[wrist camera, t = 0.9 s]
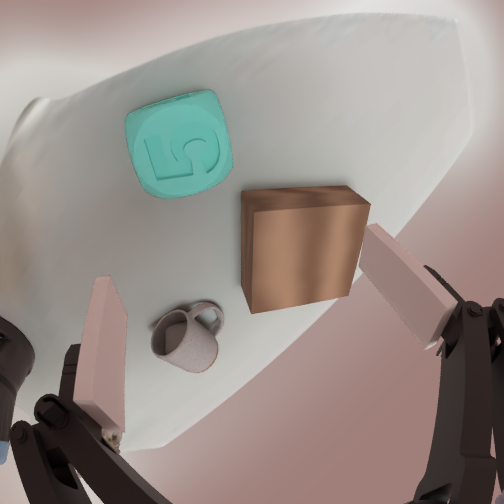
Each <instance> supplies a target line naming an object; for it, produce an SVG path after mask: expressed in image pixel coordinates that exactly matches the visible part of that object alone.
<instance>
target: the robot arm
mask: <svg viewBox="0 0 504 504" xmlns="http://www.w3.org/2000/svg"><path fill="white" fill-rule="evenodd" d="M359 268H360V269H361V270H362V271H363V272H364V273H365V275H366V276H367V277H368V278H369V279H370V281H371V282H372V283H373V284H374V286H375V287H376V288H377V289H378V290H379V292H380V293H381V294H382V295H383V297H384V298H385V299H386V300H387V301H388V303H389V304H390V305H391V307H392V308H393V309H394V310H395V312H396V313H397V314H398V315H399V317H400V318H401V319H402V321H403V322H404V323H405V325H406V326H407V327H408V328H409V330H410V331H411V332H412V334H413V335H414V336H415V338H416V339H417V340H418V342H419V343H420V344H421V346H422V347H423V348H424V350H426V349H428V348H430V347H432V346H434V345H436V343H437V342H438V340H439V338H440V336H442V338H443V339H444V341H443V343H442V345H441V346H440V348H439V350H438V351H437V354H436V356H438V355H439V354H440V352H441V351H442V355H441V357H442V359H441V376H440V388H439V398H438V407H437V415H436V422H435V428H434V434H433V440H432V446H431V450H430V455H429V460H428V464H427V469H426V472H425V475H424V477H423V478H422V480H421V481H420V483H419V485H418V487H417V489H416V492H415V495H414V499H413V501H410V502H407V503H405V504H447V501H448V500H449V498H450V501H449V504H491V501H492V496H493V491H494V485H495V479H496V472H497V473H498V480H499V484H500V489H501V492H502V494H501V495H499V496H498V497H497V498H496V501H495V504H504V299H503V298H497V299H496V300H495V301H494V302H493V304H492V306H491V307H482V306H481V305H479V304H478V303H476V302H473V301H467V302H465V301H464V300H463V299H462V298H461V297H460V295H459V294H458V293H457V292H456V291H455V290H454V289H453V288H452V287H451V286H450V285H449V284H448V283H446V281H445V280H444V279H443V278H441V276H440V275H439V274H438V273H437V272H436V271H435V270H433V269H432V268H430V267H428V266H426V265H425V266H422V265H421V264H420V263H419V262H418V261H417V260H416V259H415V258H414V257H413V256H412V255H411V254H410V253H409V252H408V251H407V250H406V249H405V248H404V247H402V246H401V245H400V244H399V243H398V242H397V241H396V240H395V239H394V238H393V237H392V236H390V235H389V234H388V233H387V232H386V231H385V230H384V229H383V228H382V227H380V226H379V225H378V224H377V223H376V224H370V225H365V232H364V239H363V245H362V251H361V257H360V262H359ZM127 320H128V315H127V313H126V311H125V309H124V307H123V304H122V302H121V300H120V298H119V296H118V293H117V291H116V289H115V286H114V284H113V282H112V279H111V277H110V275H108V276H103V277H98V278H96V279H95V283H94V287H93V291H92V295H91V299H90V303H89V307H88V312H87V316H86V321H85V326H84V331H83V336H82V342H81V344H74V345H71V346H70V348H69V349H68V351H67V353H66V355H65V360H64V367H63V370H62V376H61V382H60V389H59V396H57V395H54V394H46V395H44V396H42V397H41V398H40V399H39V400H38V401H37V402H36V405H35V407H34V416H35V419H36V420H37V421H38V422H39V423H37V424H35V425H32V426H31V425H30V424H29V423H27V422H26V421H22V420H21V421H17V422H16V423H15V424H13V426H12V428H11V425H12V417H13V412H14V406H15V400H16V396H17V392H18V390H19V388H20V387H21V385H22V383H23V382H24V380H25V377H26V376H28V375H29V374H30V372H31V370H32V367H33V363H34V359H35V355H34V351H33V348H32V346H31V344H30V343H29V341H28V340H27V339H26V337H25V336H24V335H23V334H22V333H21V332H20V331H19V330H18V329H17V328H15V327H14V326H13V325H12V324H10V323H9V322H7V321H6V320H4V319H2V318H0V465H2V464H4V463H5V462H6V459H7V453H8V449H9V445H10V443H11V447H12V451H13V455H14V459H15V462H16V465H17V468H18V472H19V475H20V478H21V481H22V484H23V487H24V490H25V492H26V495H27V498H28V500H29V503H30V504H92V502H91V501H90V499H89V497H88V495H87V493H86V491H85V490H84V487H83V485H82V483H81V482H80V479H79V477H78V475H77V473H76V471H75V469H76V470H77V472H78V473H79V474H80V475H81V477H82V478H83V479H84V481H85V482H86V483H87V484H88V485H89V487H90V488H91V489H92V490H93V491H94V493H95V494H96V495H97V496H98V497H99V498H100V499H101V501H102V502H103V503H104V504H172V503H171V502H170V501H169V500H167V499H166V498H165V497H164V496H163V495H161V494H160V493H159V492H158V491H157V490H156V489H155V488H153V487H152V486H151V485H150V484H149V483H148V482H147V481H146V480H145V479H143V478H142V477H141V476H140V475H139V474H138V473H137V472H136V471H135V470H134V469H133V468H132V467H131V466H130V465H129V464H128V463H127V462H126V461H125V460H124V459H123V458H122V457H121V456H120V455H119V454H118V452H117V451H116V450H115V449H114V448H113V447H112V446H111V445H110V444H109V443H108V442H107V440H106V439H105V438H104V437H103V436H102V428H103V429H104V430H105V431H106V432H108V433H118V432H125V410H124V383H125V351H126V334H127ZM499 337H500V340H501V343H500V344H499V345H498V343H497V340H498V338H499ZM492 428H493V435H494V443H495V452H496V459H495V458H494V457H492V456H491V454H490V448H491V435H492ZM9 441H10V443H9ZM74 468H75V469H74Z"/></svg>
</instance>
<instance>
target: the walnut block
mask: <svg viewBox="0 0 504 504" xmlns="http://www.w3.org/2000/svg"><path fill="white" fill-rule="evenodd" d="M370 205H371V204H370V203H369V202H368V201H366V200H365V199H364V198H363V197H361V196H360V195H359V194H357V193H356V192H355V191H353V190H352V189H351V188H349V187H348V186H324V187H301V188H283V189H267V190H253V191H242V195H241V287H242V289H243V292H244V295H245V298H246V301H247V303H248V306H249V309H250V312H251V314H255V313H261V312H267V311H272V310H278V309H284V308H289V307H294V306H300V305H305V304H310V303H315V302H320V301H325V300H330V299H335V298H339V297H344V296H348V295H349V291H350V288H351V284H352V281H353V277H354V273H355V269H356V266H357V262H358V258H359V254H360V250H361V246H362V242H363V237H364V232H365V225H366V224H367V220H368V215H369V210H370Z"/></svg>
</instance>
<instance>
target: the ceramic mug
mask: <svg viewBox="0 0 504 504" xmlns="http://www.w3.org/2000/svg"><path fill="white" fill-rule="evenodd" d="M208 309H213V310H214V311H215V313H216V316H218V320H217V323H216V325H215V326H214V327H213V329H212V330H211V331H208V330H207V329H206V328H205V327H203V326H202V325H201V324H200V323H199V322H198V321H196V320H195V319H194V318H195V317H196V316H197V315H198V314H200V313H201V312H203V311H205V310H208ZM223 325H224V315H223V313H222V311H221V310H220V309H219V308H218V307H217V306H216V305H214V304H212V303H202V304H199V305H197V306H196V307H195V308H193V309H192V310H191V311H190V312H188V313H187V312H185V311H183V310H173V311H171V312H169V313H167V314H166V315H165V316H163V317H162V318H161V320H160V321H159V322H158V323H157V325H156V326H155V328H154V331H153V334H152V338H151V348H152V351H153V353H154V354H155V355H156V356H157V357H158V358H160V359H162V360H164V361H167V362H169V363H171V364H173V365H175V366H177V367H179V368H181V369H183V370H185V371H188V372H193V373H200V372H203V371H205V370H207V369H208V368H209V367H210V366H211V365H212V364H213V363H214V361H215V360H216V357H217V354H218V342H217V340H216V338H215V336H216V335H217V334H218V333H219V332H220V331H221V329H222V327H223Z"/></svg>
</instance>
